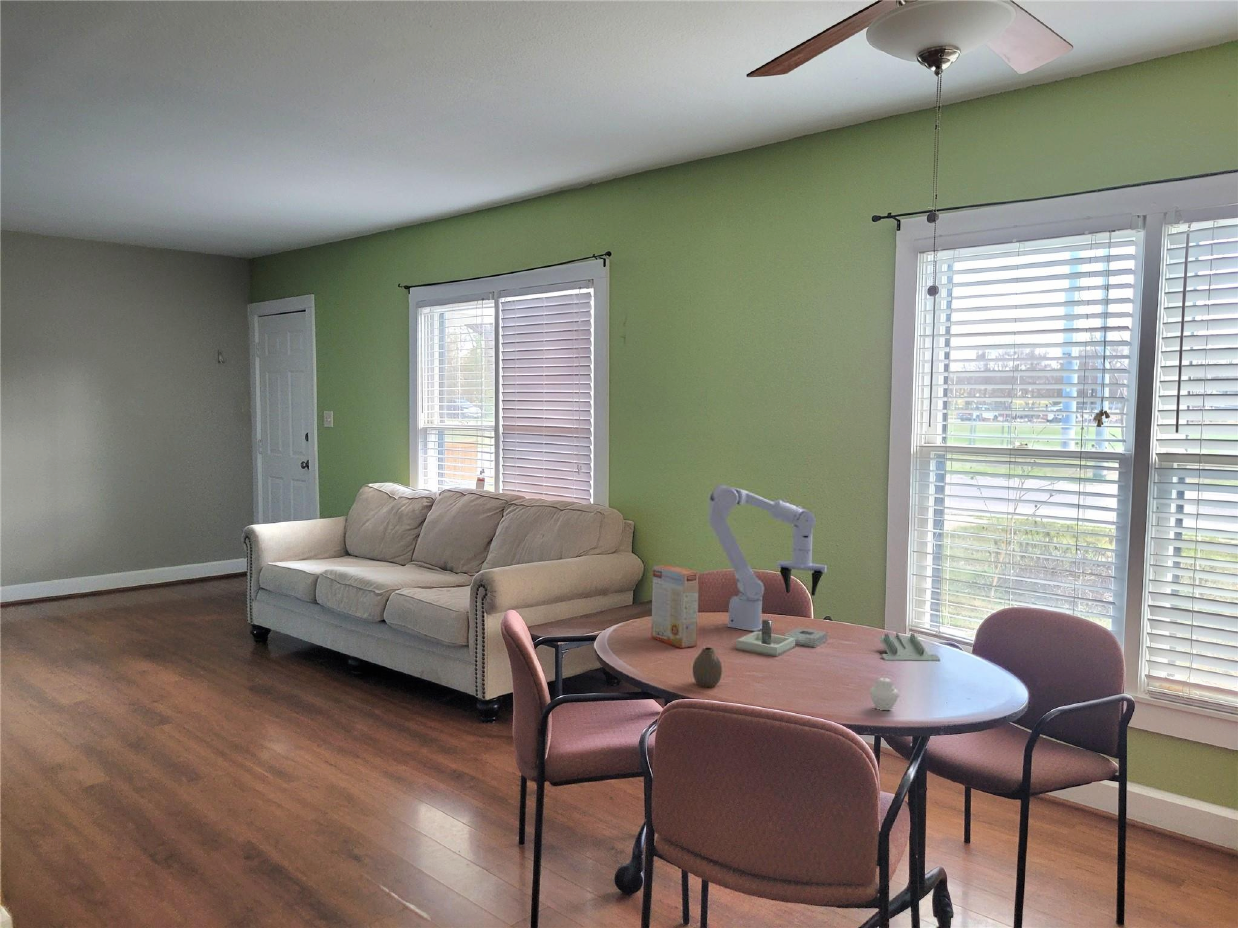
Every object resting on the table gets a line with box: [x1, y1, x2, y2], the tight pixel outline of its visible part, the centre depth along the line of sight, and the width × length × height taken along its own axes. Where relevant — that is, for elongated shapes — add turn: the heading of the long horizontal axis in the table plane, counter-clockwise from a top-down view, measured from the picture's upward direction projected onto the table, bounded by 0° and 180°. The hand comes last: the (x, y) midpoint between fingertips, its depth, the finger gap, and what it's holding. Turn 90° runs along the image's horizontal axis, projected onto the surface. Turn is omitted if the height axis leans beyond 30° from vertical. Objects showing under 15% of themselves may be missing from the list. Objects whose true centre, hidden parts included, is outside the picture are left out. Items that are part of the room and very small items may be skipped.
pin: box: [761, 619, 773, 645], centre depth 240 cm, size 3×3×7 cm
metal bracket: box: [877, 632, 941, 662], centre depth 237 cm, size 14×6×15 cm
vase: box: [692, 646, 723, 688], centre depth 206 cm, size 7×7×9 cm
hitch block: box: [784, 627, 828, 648], centre depth 248 cm, size 9×9×2 cm
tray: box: [736, 630, 796, 657], centre depth 240 cm, size 12×12×2 cm
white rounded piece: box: [869, 677, 900, 711], centre depth 192 cm, size 6×6×7 cm
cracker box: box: [650, 564, 700, 649], centre depth 243 cm, size 14×6×21 cm, turn 34°
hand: (800, 593), depth 264 cm, fingers open, 7 cm apart
